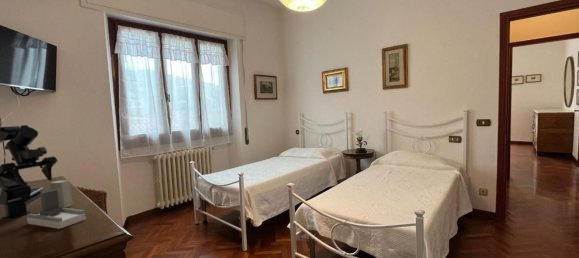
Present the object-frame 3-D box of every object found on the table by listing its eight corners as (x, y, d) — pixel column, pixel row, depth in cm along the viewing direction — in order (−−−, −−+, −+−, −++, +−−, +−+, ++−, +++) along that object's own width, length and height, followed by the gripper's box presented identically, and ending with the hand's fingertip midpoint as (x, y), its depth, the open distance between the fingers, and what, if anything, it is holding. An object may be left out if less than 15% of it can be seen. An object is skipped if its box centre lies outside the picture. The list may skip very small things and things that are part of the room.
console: (27, 223, 108) (26, 213, 108) (54, 215, 117) (53, 206, 116) (59, 228, 101) (58, 218, 101) (85, 219, 109) (84, 209, 109)
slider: (40, 215, 108) (37, 192, 108) (54, 210, 113) (52, 189, 112) (47, 216, 106) (45, 193, 106) (62, 211, 111) (59, 189, 111)
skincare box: (73, 205, 129) (70, 179, 129) (64, 208, 125) (61, 182, 124) (61, 205, 130) (58, 180, 129) (52, 208, 126) (49, 182, 125)
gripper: (0, 143, 104) (19, 178, 102) (55, 138, 121) (72, 167, 120) (-13, 160, 107) (5, 193, 105) (42, 152, 125) (59, 181, 123)
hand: (38, 183), depth 113 cm, fingers open, 9 cm apart
